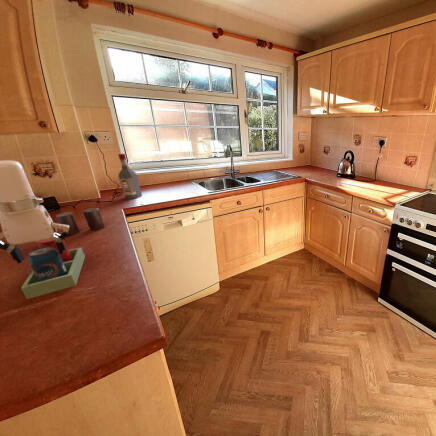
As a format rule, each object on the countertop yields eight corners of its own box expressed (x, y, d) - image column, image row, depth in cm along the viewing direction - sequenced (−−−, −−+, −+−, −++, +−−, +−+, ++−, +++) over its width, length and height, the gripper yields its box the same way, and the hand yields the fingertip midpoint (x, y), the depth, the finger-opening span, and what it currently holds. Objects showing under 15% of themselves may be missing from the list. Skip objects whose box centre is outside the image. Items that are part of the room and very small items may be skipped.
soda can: (39, 292, 75) (21, 258, 71) (44, 280, 81) (28, 249, 76) (67, 284, 79) (53, 251, 74) (71, 273, 84) (57, 243, 80)
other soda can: (48, 275, 84) (33, 244, 79) (53, 266, 89) (39, 237, 85) (73, 269, 87) (60, 239, 83) (76, 260, 92) (64, 232, 88)
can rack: (27, 300, 73) (20, 288, 71) (46, 266, 90) (41, 256, 88) (76, 286, 78) (71, 274, 77) (85, 257, 96) (81, 247, 94)
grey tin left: (62, 237, 114) (54, 217, 110) (65, 232, 119) (57, 213, 115) (78, 233, 117) (71, 214, 113) (80, 229, 122) (73, 211, 118)
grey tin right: (89, 231, 119) (82, 212, 115) (90, 227, 124) (83, 209, 120) (104, 228, 122) (97, 210, 118) (105, 224, 127) (98, 206, 123)
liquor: (131, 195, 178) (119, 153, 167) (143, 195, 178) (132, 153, 167) (123, 199, 170) (109, 155, 159) (135, 198, 169) (123, 154, 158)
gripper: (61, 196, 77) (79, 244, 83) (-20, 206, 68) (8, 259, 75) (55, 203, 71) (76, 253, 78) (-33, 214, 63) (-2, 271, 69)
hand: (42, 256), depth 76 cm, fingers open, 9 cm apart
